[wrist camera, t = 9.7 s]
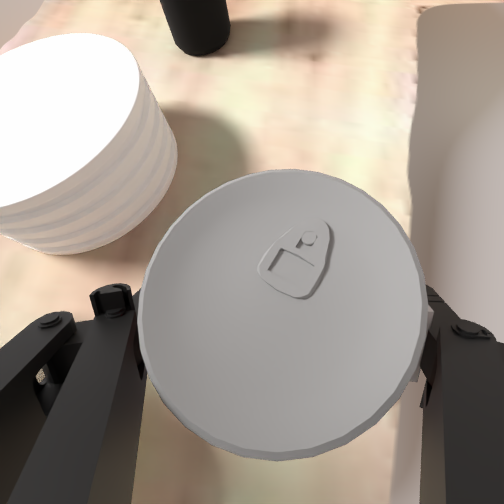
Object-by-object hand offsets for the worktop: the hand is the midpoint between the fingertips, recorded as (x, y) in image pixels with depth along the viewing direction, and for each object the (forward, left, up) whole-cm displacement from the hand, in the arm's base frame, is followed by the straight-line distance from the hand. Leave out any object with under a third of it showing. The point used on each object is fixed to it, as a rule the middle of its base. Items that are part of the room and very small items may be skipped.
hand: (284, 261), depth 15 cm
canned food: (-1, -3, -4) cm, 5 cm away
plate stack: (-27, +25, -17) cm, 41 cm away
